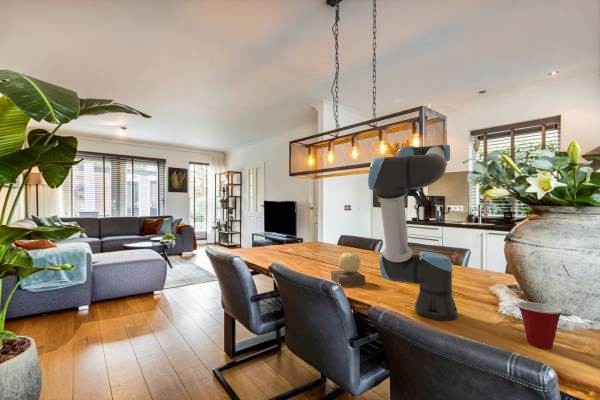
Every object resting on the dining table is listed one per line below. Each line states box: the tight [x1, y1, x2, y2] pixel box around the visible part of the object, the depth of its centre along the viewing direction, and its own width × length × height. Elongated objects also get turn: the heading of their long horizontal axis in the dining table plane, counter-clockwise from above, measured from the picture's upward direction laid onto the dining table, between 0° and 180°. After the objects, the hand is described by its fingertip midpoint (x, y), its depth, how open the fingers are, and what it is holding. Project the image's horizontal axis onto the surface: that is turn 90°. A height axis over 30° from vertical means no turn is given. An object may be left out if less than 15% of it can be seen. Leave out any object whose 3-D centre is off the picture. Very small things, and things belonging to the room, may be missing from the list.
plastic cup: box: [516, 301, 563, 350], centre depth 87 cm, size 11×11×12 cm
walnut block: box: [330, 270, 366, 287], centre depth 155 cm, size 14×14×5 cm
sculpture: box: [337, 251, 361, 273], centre depth 156 cm, size 12×12×11 cm
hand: (409, 219), depth 143 cm, fingers open, 13 cm apart
